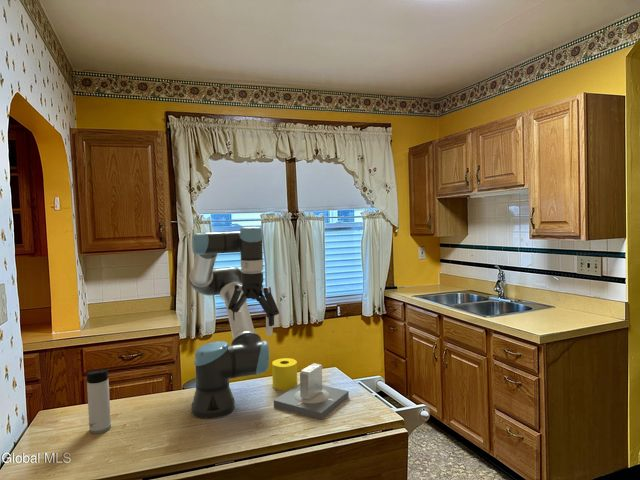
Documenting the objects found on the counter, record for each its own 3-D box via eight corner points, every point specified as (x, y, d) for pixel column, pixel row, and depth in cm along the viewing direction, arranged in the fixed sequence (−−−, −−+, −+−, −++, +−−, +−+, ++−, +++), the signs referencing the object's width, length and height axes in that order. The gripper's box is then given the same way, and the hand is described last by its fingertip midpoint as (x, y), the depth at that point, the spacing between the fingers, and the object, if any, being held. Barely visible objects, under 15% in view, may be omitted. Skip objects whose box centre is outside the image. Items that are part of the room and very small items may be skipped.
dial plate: (273, 406, 156) (273, 399, 156) (304, 387, 173) (304, 380, 173) (321, 420, 146) (321, 412, 146) (348, 397, 163) (348, 390, 163)
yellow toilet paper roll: (302, 384, 177) (301, 361, 176) (285, 392, 169) (285, 368, 168) (284, 378, 183) (283, 356, 182) (267, 386, 175) (266, 363, 174)
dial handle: (314, 388, 164) (313, 363, 163) (322, 390, 162) (321, 364, 162) (300, 398, 156) (299, 371, 155) (308, 400, 154) (308, 373, 154)
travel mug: (89, 436, 138) (86, 375, 136) (89, 427, 143) (86, 368, 142) (111, 431, 140) (108, 371, 139) (110, 422, 146) (107, 365, 145)
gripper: (216, 271, 151) (218, 330, 153) (275, 275, 139) (277, 340, 141) (231, 268, 158) (232, 325, 160) (288, 272, 146) (289, 334, 148)
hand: (253, 332), depth 150 cm, fingers open, 13 cm apart
